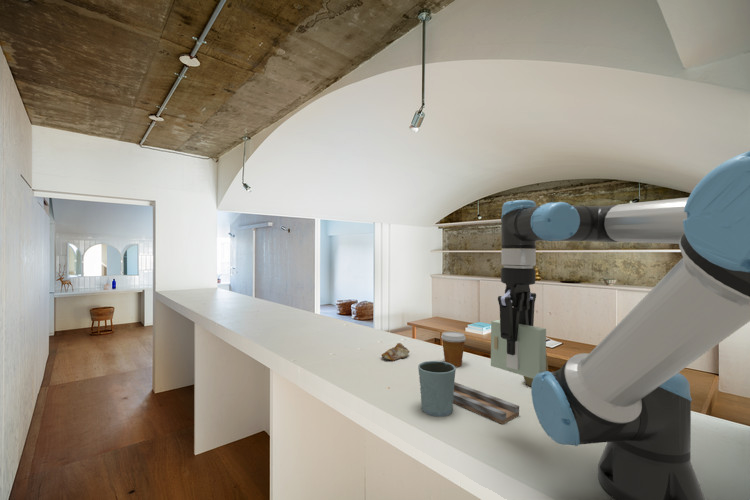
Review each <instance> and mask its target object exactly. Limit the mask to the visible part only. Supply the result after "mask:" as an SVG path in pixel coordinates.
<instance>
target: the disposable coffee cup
mask: <svg viewBox="0 0 750 500" xmlns="http://www.w3.org/2000/svg"><path fill="white" fill-rule="evenodd" d="M440 337H441V340H442V350H443V356H444V362H447V363H450V364H452V365H454V366H455V368H460V367H462V362H463V357H464V349H465V341H466V339H467V338H466V336H465V333H464V332H458V331H443V332H442V333H441V336H440Z"/></svg>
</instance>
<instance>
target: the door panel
mask: <svg viewBox="0 0 750 500" xmlns="http://www.w3.org/2000/svg"><path fill="white" fill-rule="evenodd" d="M490 322H491V323H490V366H491V367H493V368H497V369H500V370H504V371H507V372H510V373H513V374H517V375H519V376H522V377H524V376H526V377H529V378H532V379H534V377H535V376H536V375H537V374H538V373H542V372H544V371H546V354H547V328H545V327H539V326H534V325H533V326H529V325H523V324H519V325H518V337H517V341H519V370H516V369H512V368H509V367H507V340H506V339H503V338H501V331H500V319H496V320H492V321H490Z"/></svg>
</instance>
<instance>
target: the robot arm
mask: <svg viewBox="0 0 750 500" xmlns="http://www.w3.org/2000/svg"><path fill="white" fill-rule="evenodd" d="M501 209H502V210H501V217H500V220H501V225H500V226H501V227H500V228H501V233H500V234H501V237H500V238H501V239H500V240H501V254H500V256H501V259H500V262H501V265H502V266H503V267H501V269H500V282H501V283H502V284H504V285H505V290H504V294H503V295H498V297H497V301H498V305H499V320H500V331H501V338H503V339H506V340H507V367H509V368H512V369H516V370H519V341H517V337H518V325H519V324H523V325H529V326H534V321H535V303H536V298H537V294H536V293H535V292H531V287H530V286H531V285H534V284H536V276H537V275H536V271H537V270H536V269H535V268H534V267H535V266H536V265H537V263H536V262H537V258H536V257H537V255H536V254H537V252H536V251H537V247H536V246H537V242H598V243H599V242H600V243H601V242H602V243H637V244H638V243H643V244H644V243H645V244H672V245H673V244H674V245H676V244H677V245H678V246H679V250H680V253H681V256H682V258H681V259H680V260H679V261H678V262H677V263H676V264H675V265H674V266H673V267H672V268H671V269H670V270H669V271H668V272H667V273H666V274H665V275H664V276H663V277H662V278H661V280H660V281H658V282H657V284H655V285H654V286H653V288H652V289H650V291H649V292H648V293H647V294H646V295H645V296H644V297H643V298H642V299H641V300H640V301H639V302H638V303H637V304H636V305H635V306H634V307H633V308H632V309H631V310H630V311H629V312H628V314H626V315H625V316H624V317H623V319H621V320H620V321H619V323H617V325H616V326H614V328H613V329H612V330H611V331H610V332H609V333H608V334H606V336H605V337H604V338H603V339H602V340H601V341H600V342H599V343H598V344H597V345H596V346H595V347H594V348H593V349H592V350H591V351H590V353H585V352H584V353H576V354H574V355H573V356H571V357H569V359H567V361H566V362H565V363H564V364H563V365H562V366H561V367H560V369H557V370H556V371H549V370H548V371H544V372H542V373H538V374H537V375H536V376H535V377H534V379H533V381H532V387H531V386H530V387H531V388H530V389H531V400H532V405H533V409H534V412H535V415H536V418H537V420H538V422H539V424H540V426H541V428H542V430H543V432H545V434H546V435H547V436H548V437H549V438H550V439H551V440H552V441H553V442H555V443H557V444H559V445H561V446H574V447H578V446H579V445H590V444H600V443H606V445H605V447H604V449H603V452H602V454H601V456H600V459H599V461H598V464H597V478H598V479H597V480H598V481H599V484H600V486H601V487H602V488H603V489H604V490H605V492H606V493H607V494H609V496H611V497H612V498H613V499H614V500H705V496H704V494H703V491H702V488H701V485H700V482H699V480H698V476H697V475H696V472H695V469H694V467H693V464H692V460H691V457H692V455H691V453H692V452H691V450H692V449H691V448H692V446H691V434H692V433H691V431H692V428H691V427H692V422H691V420H692V419H691V418H692V416H691V415H692V413H691V412H692V411H691V410H692V409H691V408H692V405H691V404H692V401H693V399H692V396H691V387H690V386H691V385H690V382H689V380H688V378H687V377H686V376H685V375H683V374H682V373H680V372H681V371H682V370H684V369H686V368H687V367H688V366H690V365H691V364H693V363H694V362H695V361H696V360H698V359H700V358H701V357H702V356H704V355H705V354H706V353H707V352H709V351H710V350H712V349H713V348H715V347H716V346H718V345H719V344H720V343H722V342H723V341H724V340H726V339H727V338H728V337H730V336H732V334H734V333H735V332H736V331H738V330H740V329H741V328H742V327H744V326H745V325H747V324H748V323H750V150H749V151H745V152H743V153H740V154H737V155H735V156H733V157H731V158H729V159H728V160H725V161H723V162H722V163H720V164H719V165H717V166H716V167H714V168H713V169H711V171H710V172H708V173H707V174H706V175H705V176H703V178H702V179H700V181H699V182H698V183H697V184H696V186H695V187H694V188H693V189H692V191H691V192H690V195H689V196H688V197H679V198H678V197H677V198H670V199H669V198H668V199H659V200H649V201H639V202H630V203H621V204H610V205H609V204H607V205H574V204H572V205H571V204H570V203H568V202H564V201H558V202H553V201H550V202H545V203H543V204H541V205H537V204H536V202H535V201H534V200H529V199H518V200H517V199H516V200H510V201H506V202H504V203H503V204H502V207H501Z"/></svg>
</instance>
